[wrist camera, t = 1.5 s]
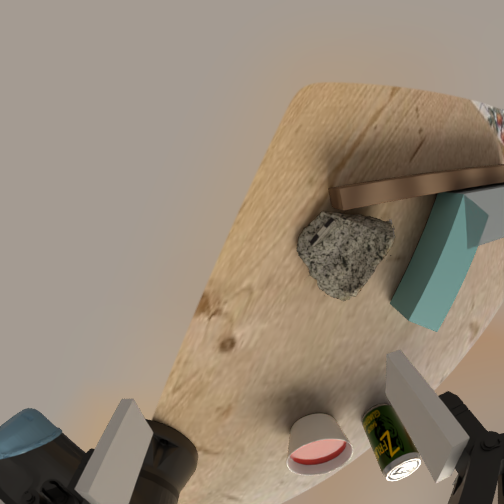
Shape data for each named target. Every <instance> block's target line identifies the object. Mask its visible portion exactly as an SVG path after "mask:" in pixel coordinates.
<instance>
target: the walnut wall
mask: <svg viewBox="0 0 504 504" xmlns="http://www.w3.org/2000/svg"><path fill="white" fill-rule="evenodd" d="M501 182H504V164H501V165H490V166H480V167H471V168H462V169H453V170H445V171H437V172H430V173H422V174H415V175H408V176H401V177H395V178H388V179H382V180H375V181H369V182H363V183H357V184H351V185H346V186H340V187H334V188H329V194H330V199H331V204H332V207H333V208H336V209H340V210H348V209H353V208H359V207H364V206H369V205H374V204H380V203H385V202H390V201H396V200H401V199H407V198H412V197H418V196H423V195H429V194H435V193H440V192H446V191H452V190H458V189H464V188H470V187H476V186H482V185H488V184H495V183H501Z"/></svg>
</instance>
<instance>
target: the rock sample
mask: <svg viewBox="0 0 504 504" xmlns="http://www.w3.org/2000/svg"><path fill="white" fill-rule="evenodd" d="M345 212H346V211H345ZM345 212H343V213H345ZM391 225H392V220H391V219H389V220H388V221H381V220H380V219H377V218H373V217H371V216H362V215H360V214H357V215H347V214H342V213H336V212H333V213H329V212H325V211H323V212H321V213H320V214H319V216H317V217H316V219H315V220H313V221H312V222H311V223H310V224H309V225H308V227H306V228H304V230H303V232H302V234H300V236H299V239H298V244H297V246H298V247H297V252H298V254H299V256H300V257H301V258H302V260H303V262H304V263H305V264H306V265H307V266H308V268H309V273H310V276H312V277H313V278H315V279H316V280H317V284H318V287H319V289H321V290H322V291H325V293H326V294H327V295H330V296H331V297H334V298H337V299H340V300H343V301H346V300H349V299H350V298H352V297H353V296H354V297H356V295H357V294H358V293H359V291H361V289H362V287H363V286H364V285H365V283H366V282H367V281H368V280H369V278H370V276H371V275H372V274H373V273H374V271H375V268H376V266H377V265H378V264H379V263H380V261H381V260H382V259H383V258H384V256H386V255H387V253H388V251H389V250H390V249H391V247H392V245H393V241H394V238H395V235H394V230H395V229H394V228H392V226H391ZM390 256H391V255H390ZM384 259H385V258H384ZM308 276H309V275H308ZM304 280H305V279H304Z"/></svg>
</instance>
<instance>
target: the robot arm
mask: <svg viewBox="0 0 504 504" xmlns="http://www.w3.org/2000/svg"><path fill="white" fill-rule="evenodd" d="M385 394H386V396H387V398H388V399H389V401H390V403H391V404H392V406H393V408H394V409H395V411H396V413H397V415H398V416H399V418H400V420H401V421H402V423H403V425H404V427H405V428H406V430H407V432H408V434H409V435H410V437H411V439H412V441H413V443H414V444H415V446H416V448H417V450H418V452H419V453H420V455H421V457H422V459H423V460H424V462H425V464H426V466H427V468H428V470H429V472H430V473H431V475H432V477H433V479H434V481H435V483H437V482H439V481H441V480H443V479H445V478H447V477H449V476H451V475H452V473H453V471H454V469H456V471H457V472H458V476H457V478H456V479H455V481H454V483H453V485H454V488H453V491H452V494H451V497H450V499H449V502H448V504H492V502H493V498H494V494H495V490H496V485H497V481H498V504H504V433H502V434H498V433H497V432H493V431H489V432H488V431H487V430H486V429H485V428H484V427H483V426H482V424H481V423H480V422H479V421H478V420H477V418H476V417H475V416H474V415H473V414H472V412H471V411H470V410H468V408H467V406H466V405H465V404H463V402H462V401H461V399H460V398H459V397H458V396H457V395H455V394H453V393H451V392H449V391H448V392H446V393H444V394H441V395H439V396H438V395H437V394H436V393H435V392H434V390H433V389H432V388H431V387H430V385H429V384H428V383H427V382H426V380H425V379H424V378H423V377H422V376H421V374H420V373H419V372H418V371H417V369H416V368H415V367H414V366H413V365H412V363H411V362H410V361H409V360H408V359H407V357H406V356H405V355H404V354H403V353H402V351H401V350H397V351H394V352H391V353H389V354H387V356H386V389H385ZM197 461H198V453H197V450H196V448H195V447H194V445H193V444H192V443H191V442H190V441H189V440H188V439H187V438H186V437H185V436H183V435H182V434H181V433H179V432H177V431H176V430H174V429H172V428H170V427H168V426H166V425H163V424H161V423H158V422H155V421H151V420H147V419H145V418H144V416H143V415H142V413H141V411H140V409H139V408H138V406H137V404H136V402H135V400H134V399H122V400H121V402H120V404H119V405H118V407H117V409H116V411H115V413H114V414H113V416H112V418H111V420H110V422H109V424H108V425H107V428H106V429H105V431H104V433H103V435H102V437H101V439H100V440H99V442H98V444H97V446H96V448H95V449H90V450H89V451H88V452H87V453H85V452H84V451H83V450H82V449H80V448H79V447H78V446H77V445H76V444H75V443H73V442H72V441H71V440H70V439H69V438H68V437H67V436H66V435H64V434H63V433H62V430H61V429H60V428H57V427H56V426H54V425H53V424H52V423H51V422H50V421H49V420H48V419H47V418H46V417H45V416H44V415H43V414H42V413H40V412H39V411H37V410H35V409H32V408H27V409H24V410H22V411H21V412H19V413H17V414H16V415H15V416H13V417H12V418H10V419H9V420H8V421H6V422H5V423H4V424H2V425H1V426H0V504H177V503H178V498H179V494H180V492H181V490H182V489H183V488H184V486H185V485H186V483H187V482H188V481H189V479H190V477H191V476H192V475H193V473H194V472H195V470H196V467H197Z"/></svg>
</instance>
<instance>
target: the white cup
mask: <svg viewBox="0 0 504 504" xmlns="http://www.w3.org/2000/svg"><path fill="white" fill-rule="evenodd" d="M352 454H353V446H352V445H351V443H350V441H349V440H348V438H347V437H346V435H345V434H344V432H343V431H342V429H341V428H340V426H339V424H338V423H337V422H336V420H335V419H334V418H333V417H332V416H330V415H327V414H322V413H317V414H311V415H307V416H305V417H302V418H301V419H299V420H298V421H296V422H295V423H294V424H293V426H292V428H291V431H290V437H289V446H288V454H287V467H288V468H289V470H291V471H292V472H294V473H296V474H299V475H306V476H312V475H320V474H325V473H328V472H331V471H333V470H336V469H338V468H339V467H341V466H342V465H344V464H345V463H346V462H347V461H348V460H349V459H350V458H351V456H352Z"/></svg>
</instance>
